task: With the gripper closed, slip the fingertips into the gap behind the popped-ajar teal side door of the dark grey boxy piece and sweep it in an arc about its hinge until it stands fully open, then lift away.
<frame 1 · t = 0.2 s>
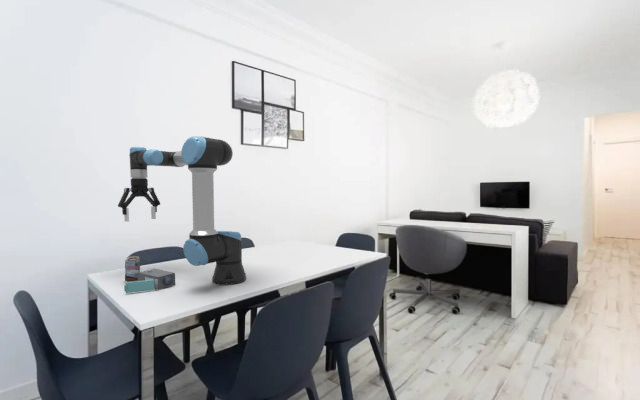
hand: (140, 220, 167), 27 cm above the table, fingers open, 13 cm apart
dark grey boxy piece: (156, 290, 141), on the table
beverage can: (133, 282, 154), on the table
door: (141, 286, 138), point 3 cm above the table, hinge at 55.0°
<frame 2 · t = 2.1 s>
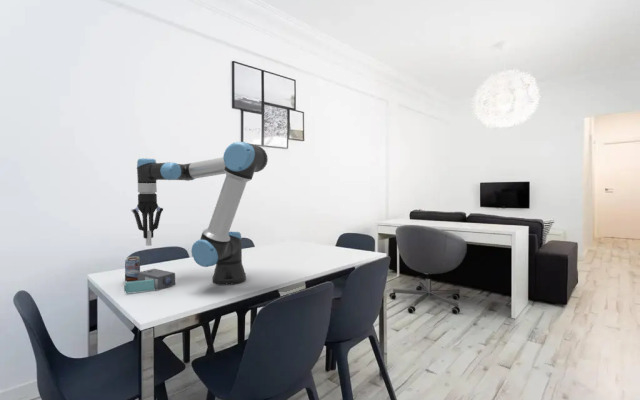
hand: (148, 245, 150), 18 cm above the table, fingers closed
nothing on the table moved.
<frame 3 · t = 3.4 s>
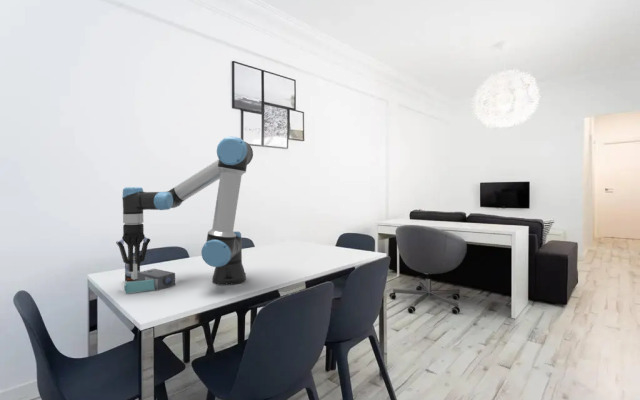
hand: (134, 278, 141), 5 cm above the table, fingers closed
nothing on the table moved.
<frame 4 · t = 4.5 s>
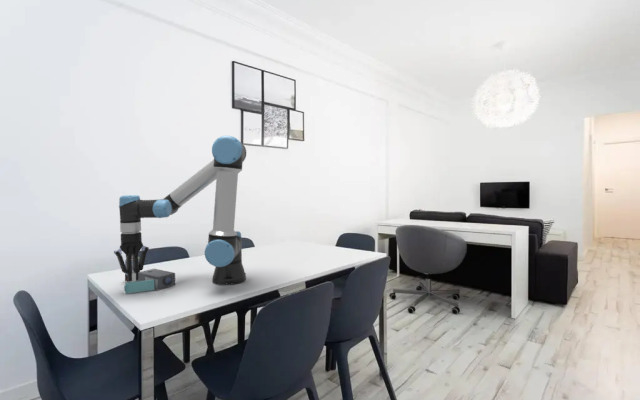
hand: (133, 288, 139), 2 cm above the table, fingers closed
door: (141, 286, 138), point 3 cm above the table, hinge at 56.8°, touching gripper
everything else where it was.
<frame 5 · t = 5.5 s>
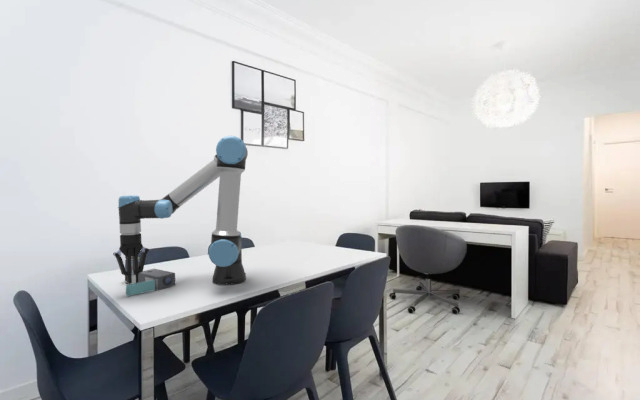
hand: (133, 290, 136), 2 cm above the table, fingers closed
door: (142, 287, 136), point 3 cm above the table, hinge at 78.4°, touching gripper
everything else where it was.
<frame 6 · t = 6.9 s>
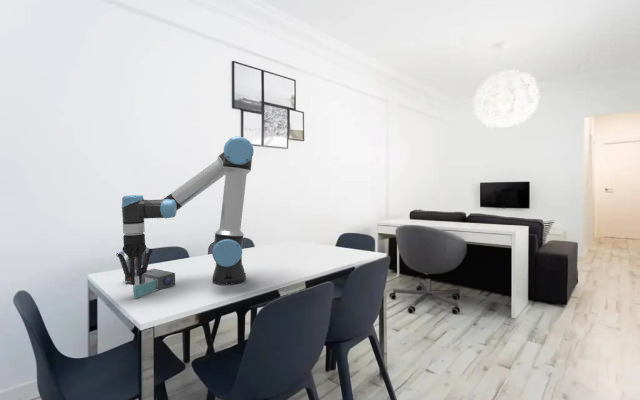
hand: (136, 291, 133), 2 cm above the table, fingers closed
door: (146, 288, 135), point 3 cm above the table, hinge at 106.2°, touching gripper
everything else where it was.
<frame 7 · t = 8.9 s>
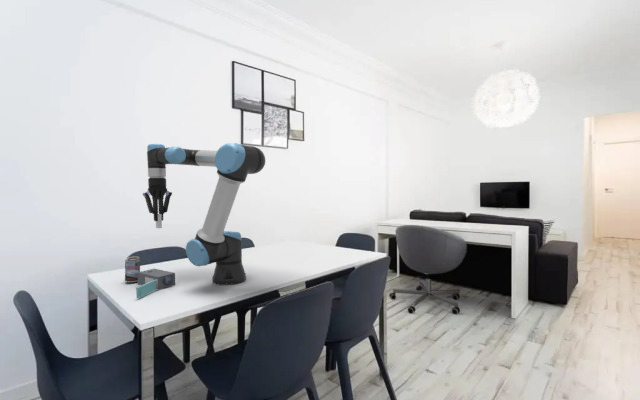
hand: (158, 227, 155), 25 cm above the table, fingers closed
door: (148, 288, 135), point 3 cm above the table, hinge at 113.1°
everything else where it was.
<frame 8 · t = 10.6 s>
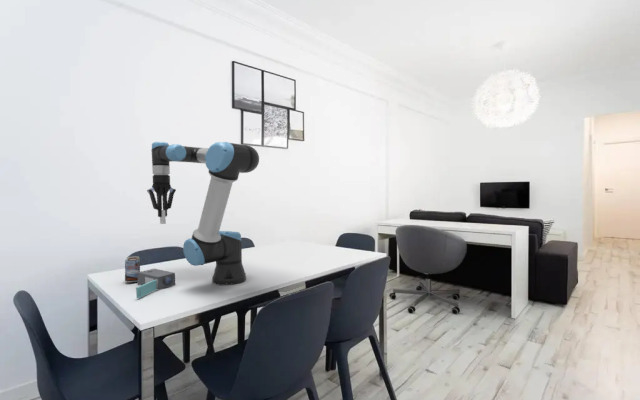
hand: (162, 223, 160), 26 cm above the table, fingers closed
nothing on the table moved.
at the end: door at +113° (first picture: +55°); beverage can moved 0.2 cm from its start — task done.
